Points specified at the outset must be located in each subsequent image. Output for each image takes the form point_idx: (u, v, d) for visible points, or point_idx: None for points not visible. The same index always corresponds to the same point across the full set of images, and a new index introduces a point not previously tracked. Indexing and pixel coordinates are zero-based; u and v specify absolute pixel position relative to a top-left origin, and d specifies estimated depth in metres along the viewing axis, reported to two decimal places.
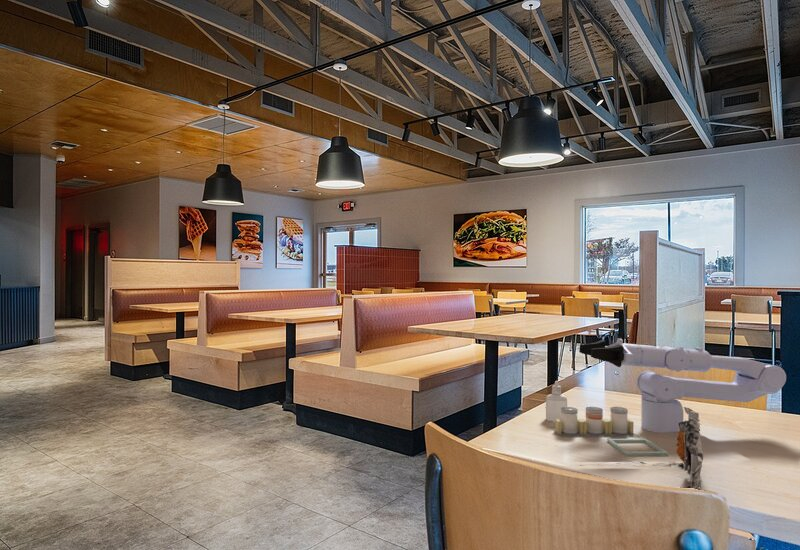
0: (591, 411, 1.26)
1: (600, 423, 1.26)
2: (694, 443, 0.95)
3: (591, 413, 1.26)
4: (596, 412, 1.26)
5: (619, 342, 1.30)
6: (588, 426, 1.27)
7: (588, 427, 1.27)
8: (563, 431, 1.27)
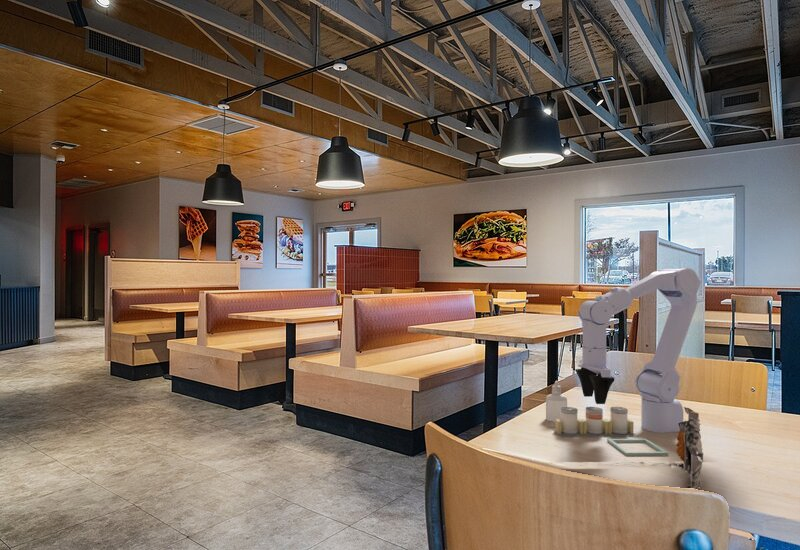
0: (591, 411, 1.26)
1: (600, 423, 1.26)
2: (694, 444, 0.95)
3: (591, 413, 1.26)
4: (596, 412, 1.26)
5: None
6: (588, 426, 1.27)
7: (588, 427, 1.27)
8: (563, 431, 1.27)
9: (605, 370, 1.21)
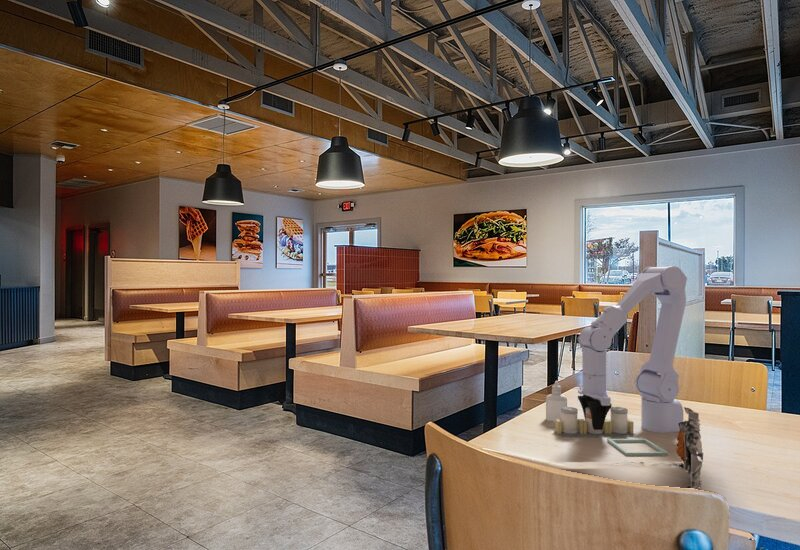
0: None
1: None
2: (694, 444, 0.95)
3: None
4: None
5: None
6: (588, 426, 1.27)
7: (588, 427, 1.27)
8: (563, 431, 1.27)
9: (605, 398, 1.21)
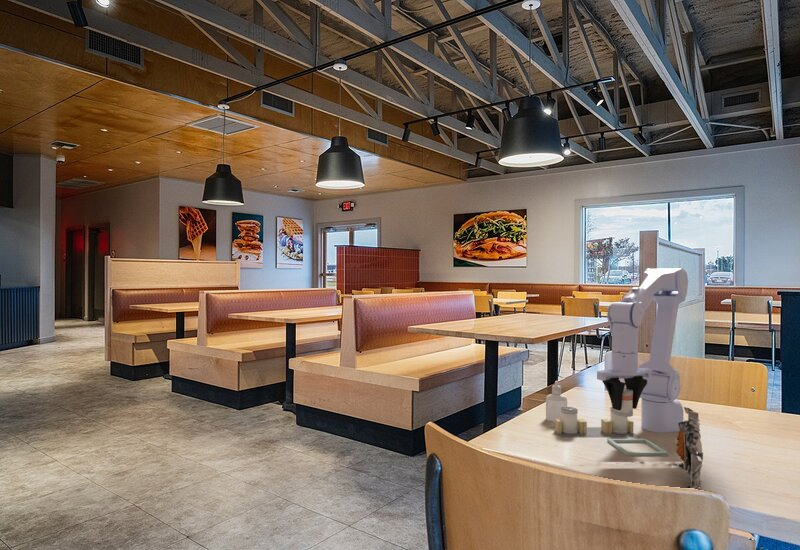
0: None
1: None
2: (694, 443, 0.95)
3: None
4: None
5: None
6: None
7: None
8: (563, 431, 1.27)
9: (598, 372, 1.17)
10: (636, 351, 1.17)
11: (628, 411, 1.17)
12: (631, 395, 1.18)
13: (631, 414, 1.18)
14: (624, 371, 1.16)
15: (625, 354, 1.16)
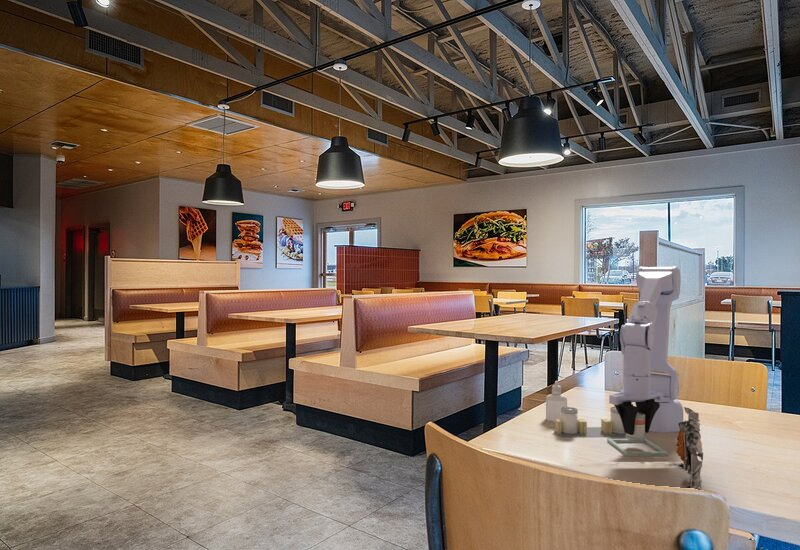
0: None
1: None
2: (694, 444, 0.95)
3: None
4: None
5: None
6: None
7: None
8: (563, 431, 1.27)
9: (611, 396, 1.14)
10: (649, 374, 1.14)
11: (641, 436, 1.14)
12: (644, 419, 1.15)
13: (644, 439, 1.15)
14: (637, 395, 1.13)
15: (638, 377, 1.13)
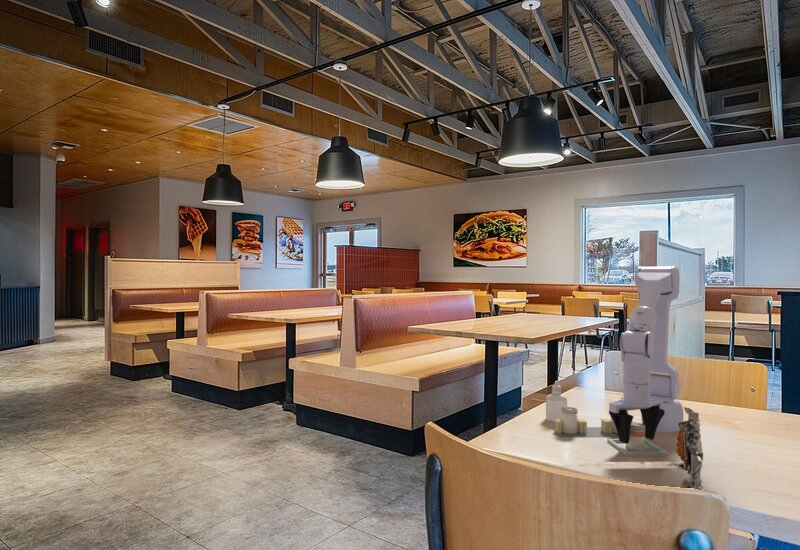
0: None
1: (632, 440, 1.15)
2: (694, 444, 0.95)
3: None
4: None
5: None
6: None
7: None
8: (563, 431, 1.27)
9: (611, 404, 1.14)
10: (649, 382, 1.14)
11: (641, 447, 1.14)
12: (644, 431, 1.15)
13: None
14: (637, 403, 1.13)
15: (638, 385, 1.13)
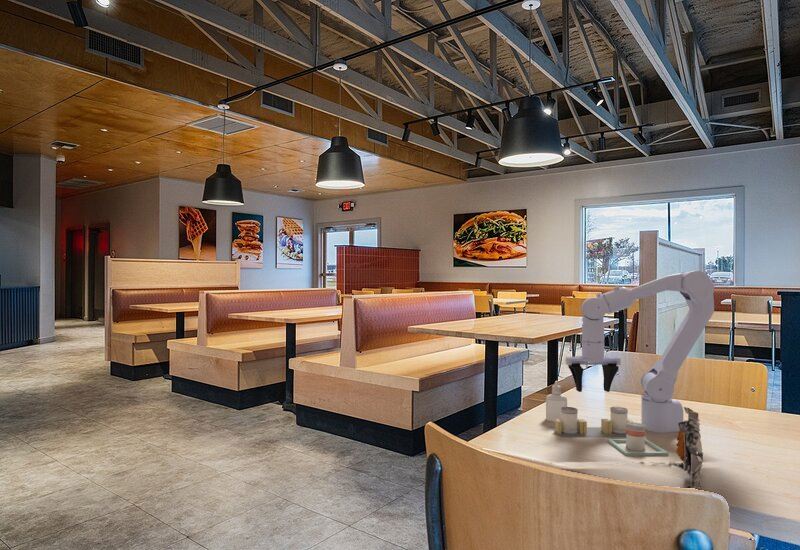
0: (626, 424, 1.17)
1: (632, 440, 1.15)
2: (694, 443, 0.95)
3: None
4: (627, 426, 1.16)
5: None
6: None
7: None
8: (563, 431, 1.27)
9: (566, 358, 1.36)
10: (593, 341, 1.33)
11: (641, 447, 1.14)
12: (644, 431, 1.15)
13: None
14: (588, 358, 1.34)
15: (590, 343, 1.34)
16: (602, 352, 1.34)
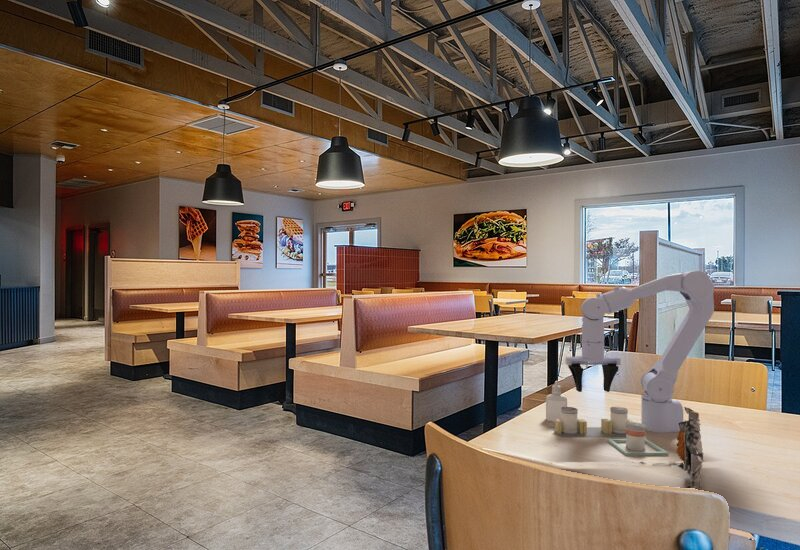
0: (626, 424, 1.17)
1: (632, 440, 1.15)
2: (694, 443, 0.95)
3: None
4: (627, 426, 1.16)
5: None
6: None
7: None
8: (563, 431, 1.27)
9: (566, 358, 1.36)
10: (593, 341, 1.33)
11: (641, 447, 1.14)
12: (644, 431, 1.15)
13: None
14: (588, 358, 1.34)
15: (589, 343, 1.34)
16: (602, 352, 1.34)
